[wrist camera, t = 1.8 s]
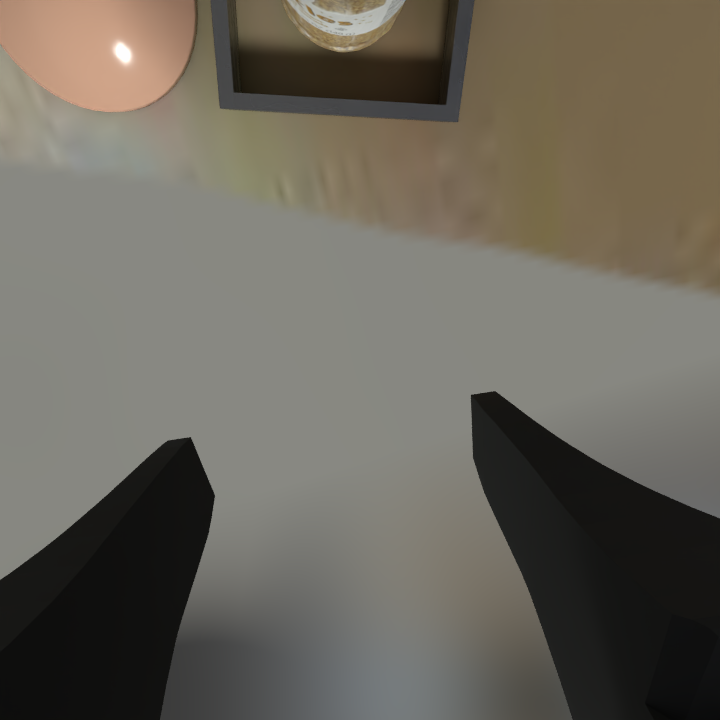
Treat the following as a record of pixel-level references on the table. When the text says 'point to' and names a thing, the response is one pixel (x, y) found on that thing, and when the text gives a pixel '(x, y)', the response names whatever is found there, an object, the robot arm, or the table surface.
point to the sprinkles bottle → (343, 21)
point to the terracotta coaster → (101, 48)
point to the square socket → (443, 112)
